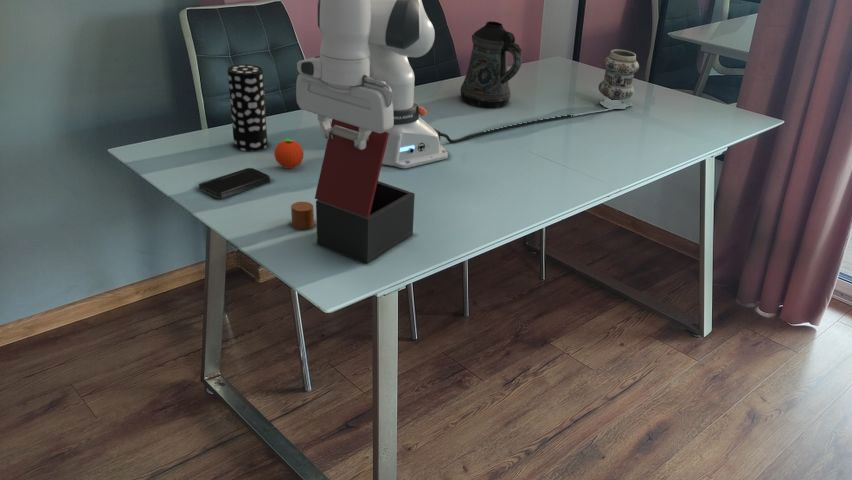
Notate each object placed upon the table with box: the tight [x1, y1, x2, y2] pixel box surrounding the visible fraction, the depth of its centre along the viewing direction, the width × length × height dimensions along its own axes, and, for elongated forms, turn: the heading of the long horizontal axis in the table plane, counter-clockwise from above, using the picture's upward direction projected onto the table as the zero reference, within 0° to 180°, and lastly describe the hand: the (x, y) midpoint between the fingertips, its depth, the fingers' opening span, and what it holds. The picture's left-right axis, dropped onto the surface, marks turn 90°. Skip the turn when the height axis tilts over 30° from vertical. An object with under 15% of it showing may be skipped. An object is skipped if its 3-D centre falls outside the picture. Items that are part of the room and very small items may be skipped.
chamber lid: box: [314, 119, 389, 218], centre depth 146 cm, size 17×13×5 cm
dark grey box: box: [315, 180, 416, 265], centre depth 158 cm, size 16×13×10 cm
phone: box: [198, 167, 271, 200], centre depth 177 cm, size 8×1×15 cm
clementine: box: [274, 138, 304, 169], centre depth 187 cm, size 8×7×7 cm
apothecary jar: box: [598, 48, 640, 101], centre depth 254 cm, size 12×12×18 cm
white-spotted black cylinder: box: [227, 63, 268, 152], centre depth 193 cm, size 8×8×20 cm
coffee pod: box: [290, 201, 315, 231], centre depth 163 cm, size 5×5×4 cm
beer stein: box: [460, 21, 524, 109], centre depth 243 cm, size 16×19×25 cm
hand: (344, 143), depth 143 cm, fingers closed on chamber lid, 6 cm apart
